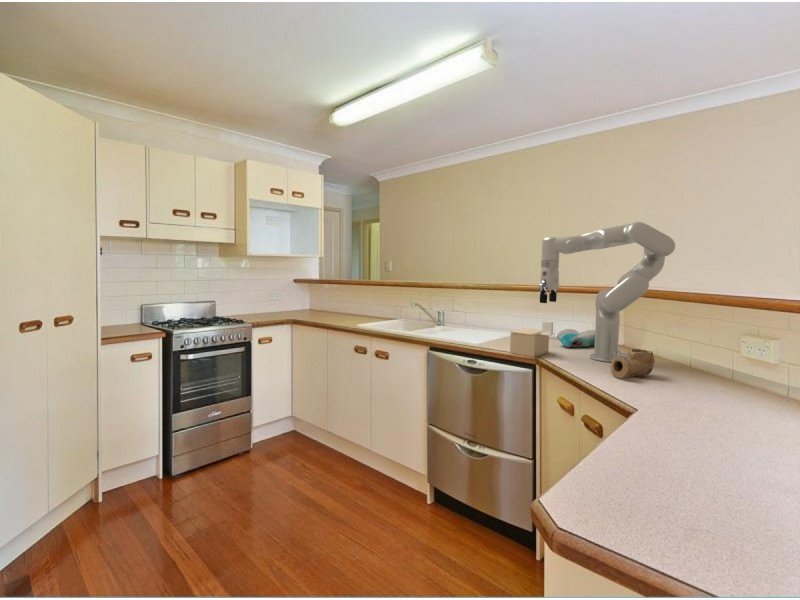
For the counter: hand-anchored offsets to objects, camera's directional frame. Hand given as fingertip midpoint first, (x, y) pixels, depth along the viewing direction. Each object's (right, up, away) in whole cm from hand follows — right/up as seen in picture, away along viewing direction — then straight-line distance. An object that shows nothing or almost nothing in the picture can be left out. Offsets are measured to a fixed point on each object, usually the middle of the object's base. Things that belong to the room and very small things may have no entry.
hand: (548, 302), depth 187 cm
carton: (-6, -24, +8) cm, 26 cm away
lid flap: (-4, -15, +6) cm, 16 cm away
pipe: (+21, -28, -32) cm, 47 cm away
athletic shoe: (+27, -23, +25) cm, 44 cm away
